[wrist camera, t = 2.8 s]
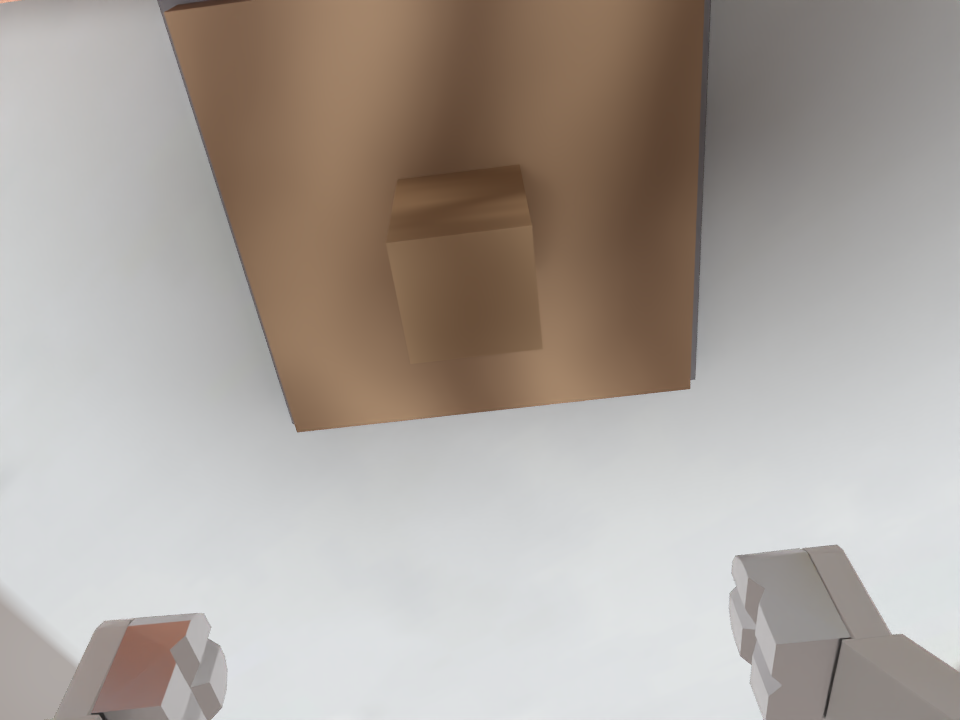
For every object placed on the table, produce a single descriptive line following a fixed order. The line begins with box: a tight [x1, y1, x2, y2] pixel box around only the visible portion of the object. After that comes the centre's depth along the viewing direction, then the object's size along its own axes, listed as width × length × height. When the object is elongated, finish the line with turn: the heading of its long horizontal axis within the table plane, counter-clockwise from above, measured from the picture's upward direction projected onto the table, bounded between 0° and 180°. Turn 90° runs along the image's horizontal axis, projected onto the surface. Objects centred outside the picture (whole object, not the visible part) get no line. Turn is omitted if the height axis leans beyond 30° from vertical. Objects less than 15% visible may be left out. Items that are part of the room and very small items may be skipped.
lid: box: [164, 0, 705, 432], centre depth 22 cm, size 14×14×6 cm
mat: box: [157, 0, 711, 424], centre depth 25 cm, size 15×15×1 cm
